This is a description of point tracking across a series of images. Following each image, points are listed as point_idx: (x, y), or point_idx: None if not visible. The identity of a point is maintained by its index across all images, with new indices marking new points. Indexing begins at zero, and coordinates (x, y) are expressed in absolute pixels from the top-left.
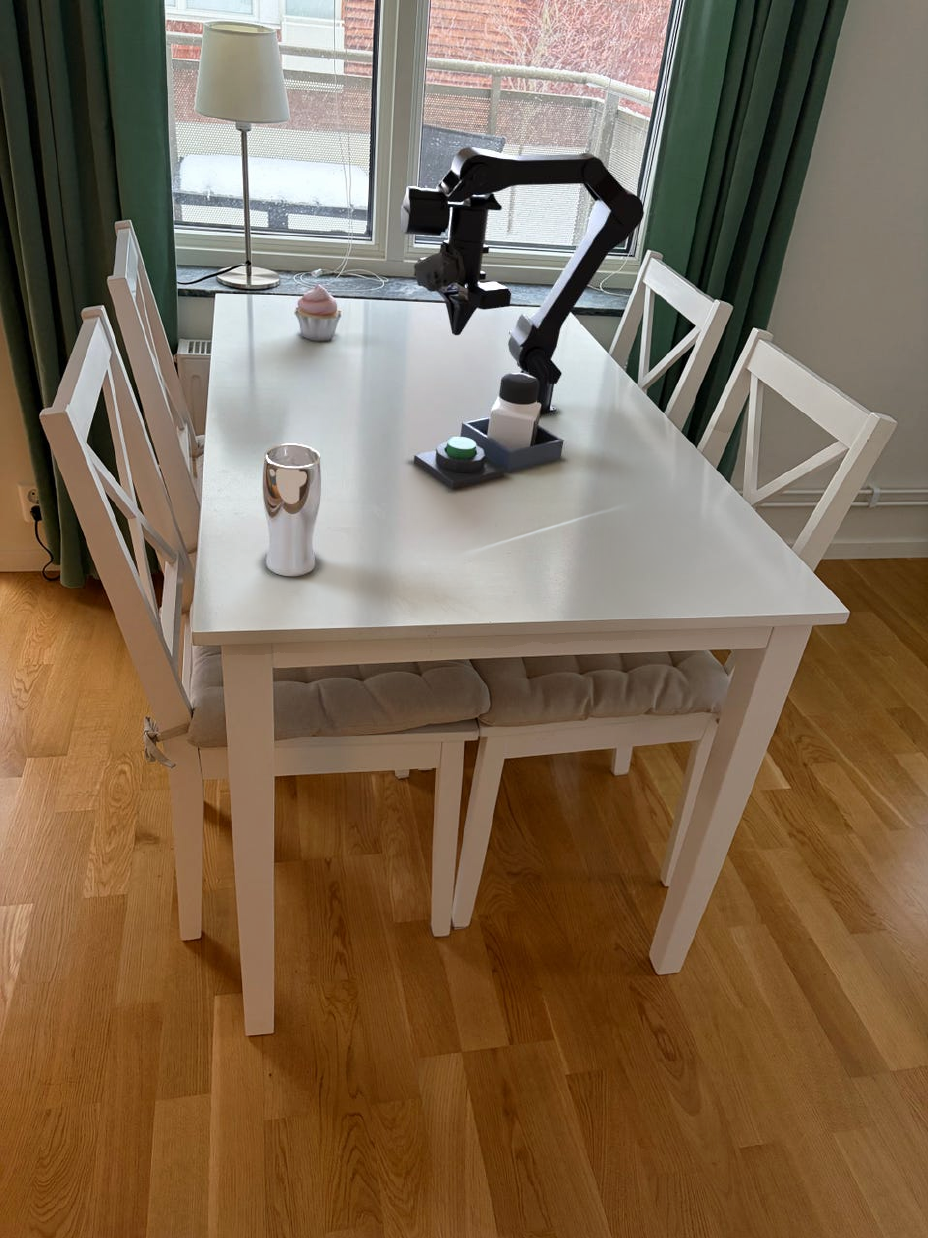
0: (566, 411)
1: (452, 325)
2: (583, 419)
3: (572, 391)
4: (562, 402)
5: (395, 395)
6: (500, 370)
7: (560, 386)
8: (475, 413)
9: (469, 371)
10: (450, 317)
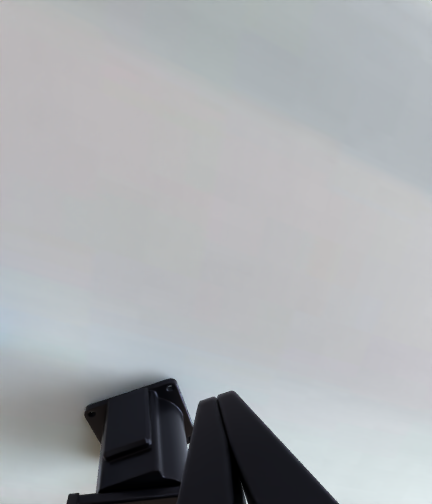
0: None
1: (238, 442)
2: None
3: None
4: None
5: (293, 89)
6: (352, 405)
7: None
8: (125, 288)
9: (371, 346)
10: (288, 496)
